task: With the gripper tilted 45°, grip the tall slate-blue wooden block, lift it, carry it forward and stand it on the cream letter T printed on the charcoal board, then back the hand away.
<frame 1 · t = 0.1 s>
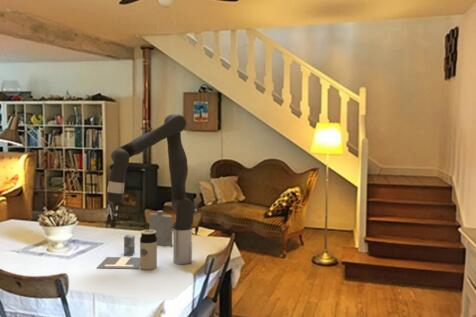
hand: (110, 225, 201), 22 cm above the table, tool pointing down, fingers open, 8 cm apart
hip flask: (160, 244, 251), on the table
slate block: (129, 254, 231), on the table
letter board: (121, 263, 216), on the table
travel mug: (148, 267, 210), on the table
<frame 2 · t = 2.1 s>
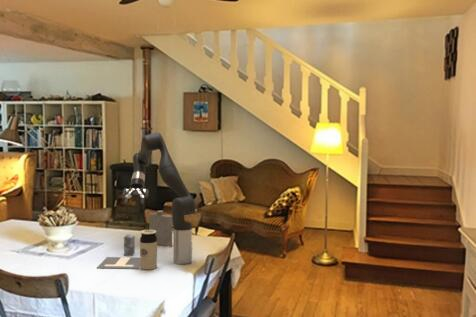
hand: (133, 204, 242), 25 cm above the table, tool tilted 45°, fingers open, 8 cm apart
nothing on the table moved.
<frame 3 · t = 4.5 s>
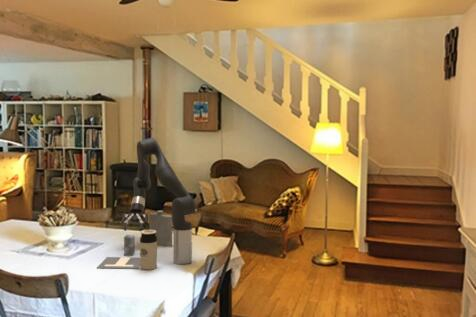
hand: (132, 230, 237), 11 cm above the table, tool tilted 45°, fingers open, 8 cm apart
nothing on the table moved.
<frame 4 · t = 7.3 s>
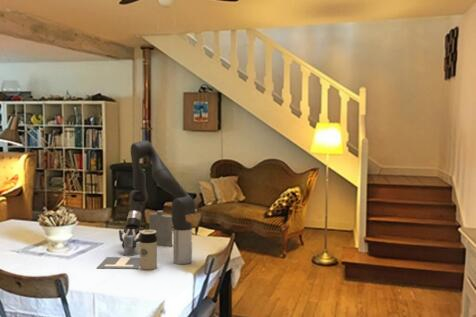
hand: (128, 247, 229), 4 cm above the table, tool tilted 45°, fingers closed on slate block, 4 cm apart
slate block: (129, 254, 231), on the table, touching gripper
everything else where it was.
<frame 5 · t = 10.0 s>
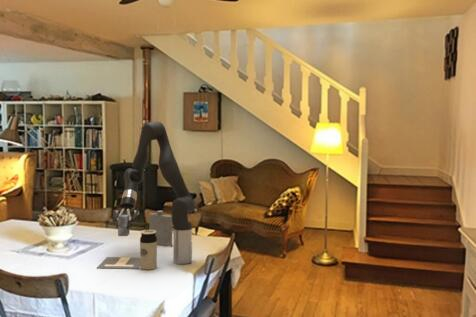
hand: (122, 227, 216), 18 cm above the table, tool tilted 45°, fingers closed on slate block, 4 cm apart
slate block: (123, 235, 218), point 14 cm above the table, touching gripper
everything else where it was.
when the fingers open (6 cm above the table, at t = 13.0 s): slate block stays where it is, resting on letter board.
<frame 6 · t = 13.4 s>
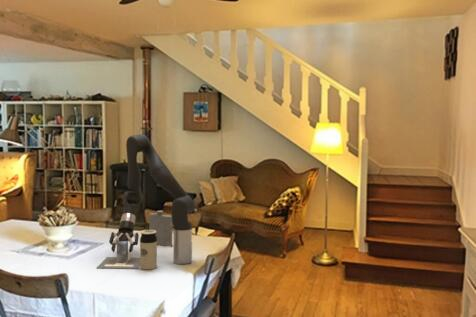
hand: (121, 251, 215), 6 cm above the table, tool tilted 45°, fingers open, 8 cm apart
slate block: (122, 261, 217), resting on letter board
everything else where it was.
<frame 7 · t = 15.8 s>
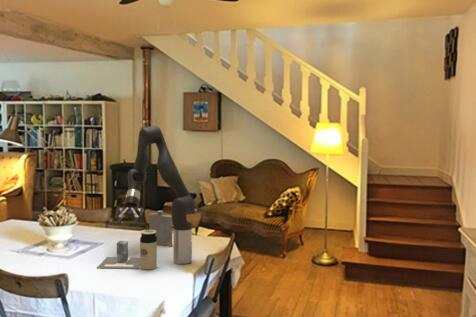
hand: (127, 224, 225), 17 cm above the table, tool tilted 45°, fingers open, 8 cm apart
nothing on the table moved.
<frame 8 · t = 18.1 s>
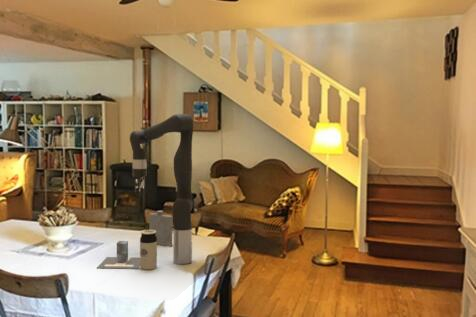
hand: (139, 196, 236), 30 cm above the table, tool pointing down, fingers open, 8 cm apart
nothing on the table moved.
at the end: slate block inside the target area on the letter board (0.1 cm from its centre), point 0.5 cm above the letter board's base; slate block tilted 0°; the gripper is holding nothing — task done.
